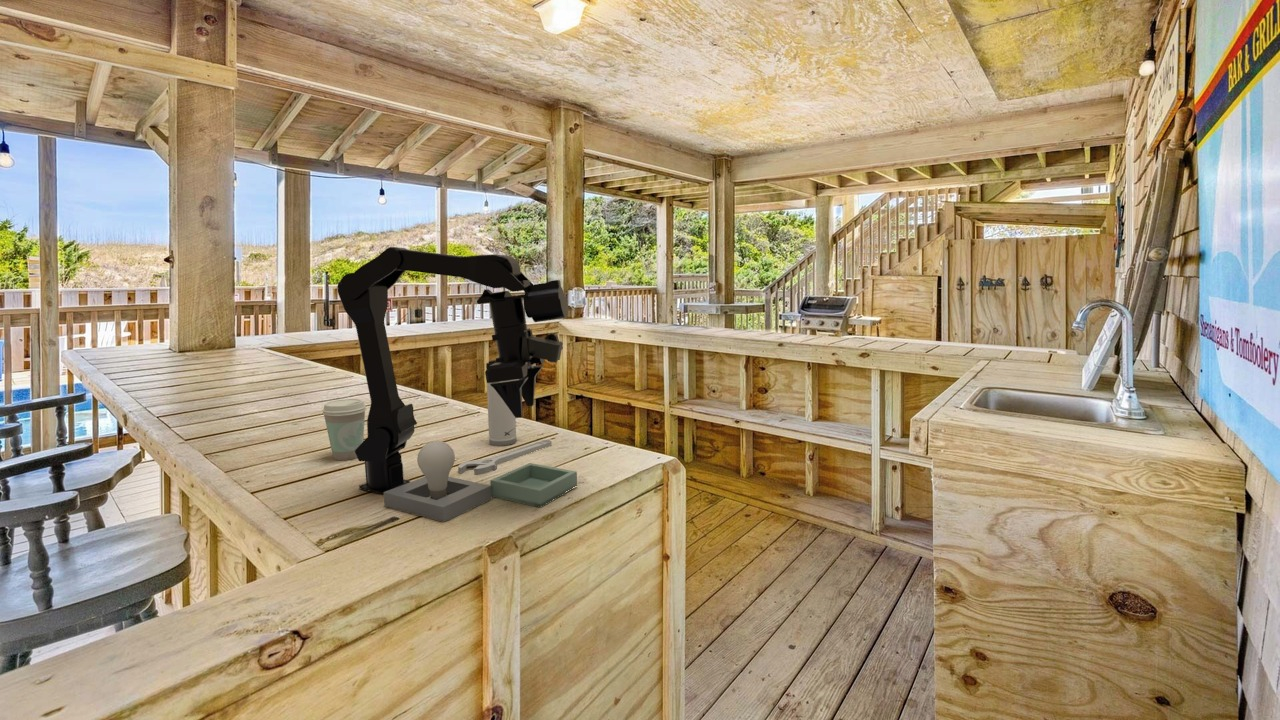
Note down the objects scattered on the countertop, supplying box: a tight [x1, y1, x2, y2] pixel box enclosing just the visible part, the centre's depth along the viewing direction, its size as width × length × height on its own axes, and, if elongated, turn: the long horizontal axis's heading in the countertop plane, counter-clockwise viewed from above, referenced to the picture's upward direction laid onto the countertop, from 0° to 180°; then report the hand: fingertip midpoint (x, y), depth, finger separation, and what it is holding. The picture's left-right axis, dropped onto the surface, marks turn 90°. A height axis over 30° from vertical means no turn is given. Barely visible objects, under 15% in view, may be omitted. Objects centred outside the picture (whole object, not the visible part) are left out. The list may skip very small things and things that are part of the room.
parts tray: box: [489, 462, 578, 508], centre depth 108 cm, size 11×11×3 cm
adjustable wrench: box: [457, 439, 553, 476], centre depth 127 cm, size 25×6×2 cm, turn 142°
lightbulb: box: [417, 440, 456, 500], centre depth 102 cm, size 6×6×11 cm
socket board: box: [383, 475, 492, 523], centre depth 103 cm, size 14×11×2 cm
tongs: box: [315, 516, 400, 551], centre depth 91 cm, size 4×13×2 cm, turn 150°
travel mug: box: [485, 359, 517, 447], centre depth 138 cm, size 6×7×20 cm
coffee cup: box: [322, 398, 367, 461], centre depth 129 cm, size 9×8×12 cm
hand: (525, 411), depth 107 cm, fingers open, 9 cm apart
